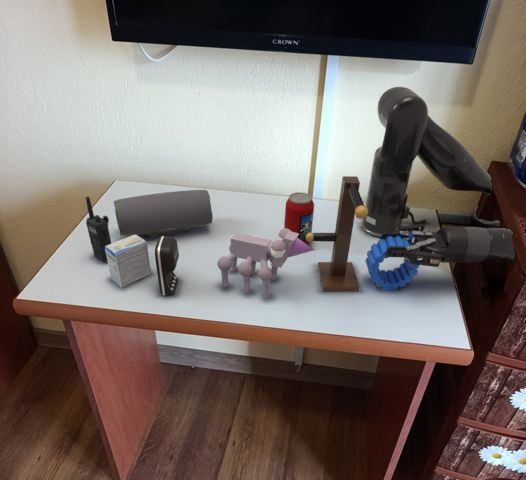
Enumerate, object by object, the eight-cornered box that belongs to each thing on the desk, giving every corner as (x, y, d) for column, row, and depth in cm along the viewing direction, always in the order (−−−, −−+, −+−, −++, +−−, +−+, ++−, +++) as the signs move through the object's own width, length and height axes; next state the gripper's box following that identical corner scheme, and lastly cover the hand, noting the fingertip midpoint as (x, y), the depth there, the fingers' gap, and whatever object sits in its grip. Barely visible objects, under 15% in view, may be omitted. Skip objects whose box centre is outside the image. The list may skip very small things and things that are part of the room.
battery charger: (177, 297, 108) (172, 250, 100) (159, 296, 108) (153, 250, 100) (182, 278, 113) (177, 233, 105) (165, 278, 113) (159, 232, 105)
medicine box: (140, 266, 116) (135, 233, 110) (152, 274, 114) (147, 240, 108) (110, 280, 112) (103, 245, 106) (122, 288, 109) (115, 254, 104)
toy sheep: (315, 283, 113) (321, 228, 104) (301, 310, 105) (307, 254, 96) (232, 264, 117) (231, 210, 108) (214, 289, 110) (211, 234, 101)
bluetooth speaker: (205, 217, 134) (203, 181, 127) (213, 234, 128) (212, 197, 121) (118, 228, 128) (111, 191, 122) (122, 247, 122) (115, 209, 115)
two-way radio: (91, 256, 119) (77, 196, 108) (106, 249, 121) (94, 189, 111) (105, 265, 116) (92, 204, 106) (121, 257, 119) (110, 197, 108)
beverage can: (308, 251, 123) (313, 205, 115) (281, 247, 124) (283, 202, 116) (312, 237, 128) (316, 192, 120) (285, 234, 129) (288, 189, 120)
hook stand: (300, 266, 118) (309, 169, 102) (351, 266, 118) (367, 169, 103) (308, 311, 105) (319, 208, 89) (364, 311, 106) (385, 209, 90)
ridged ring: (362, 277, 115) (370, 235, 108) (407, 277, 116) (418, 236, 108) (366, 290, 111) (374, 248, 104) (412, 289, 112) (424, 248, 105)
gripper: (468, 278, 105) (387, 278, 104) (447, 242, 115) (373, 242, 114) (479, 247, 100) (395, 246, 99) (456, 212, 110) (379, 212, 109)
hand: (384, 244), depth 107 cm, fingers closed on ridged ring, 5 cm apart
